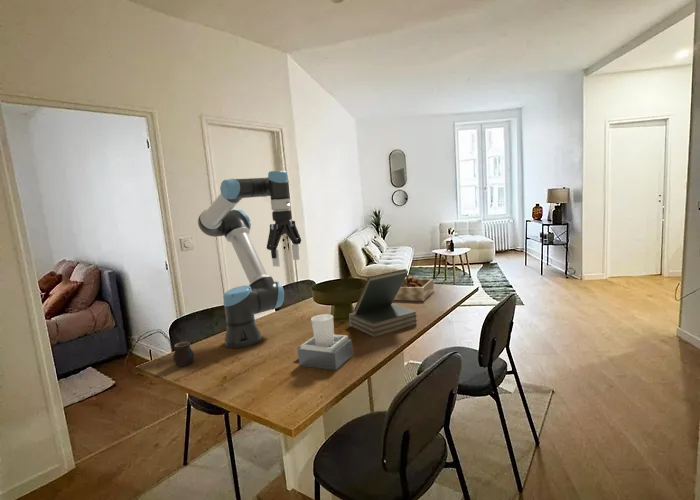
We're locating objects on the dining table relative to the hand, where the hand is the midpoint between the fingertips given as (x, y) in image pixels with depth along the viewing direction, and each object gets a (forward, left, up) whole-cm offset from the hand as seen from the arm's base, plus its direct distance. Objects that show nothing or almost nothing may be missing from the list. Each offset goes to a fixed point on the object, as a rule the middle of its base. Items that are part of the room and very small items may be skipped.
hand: (286, 262), depth 159 cm
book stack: (+28, +27, -34) cm, 52 cm away
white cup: (+22, -13, -28) cm, 38 cm away
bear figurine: (+27, +79, -34) cm, 91 cm away
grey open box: (+20, -13, -33) cm, 41 cm away
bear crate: (+25, +78, -34) cm, 89 cm away
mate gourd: (-31, -30, -34) cm, 55 cm away
